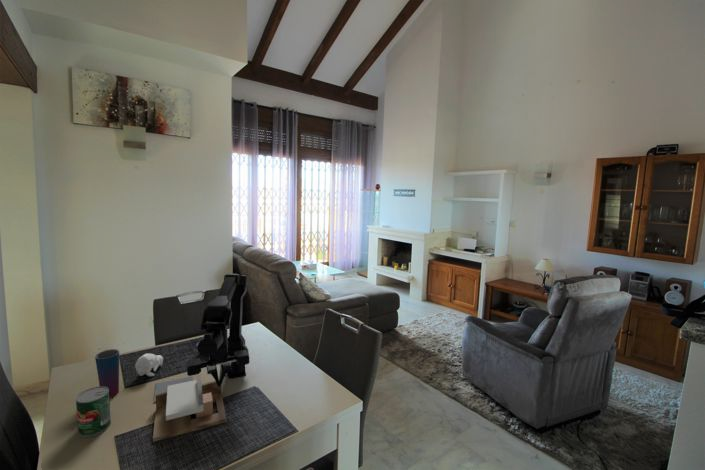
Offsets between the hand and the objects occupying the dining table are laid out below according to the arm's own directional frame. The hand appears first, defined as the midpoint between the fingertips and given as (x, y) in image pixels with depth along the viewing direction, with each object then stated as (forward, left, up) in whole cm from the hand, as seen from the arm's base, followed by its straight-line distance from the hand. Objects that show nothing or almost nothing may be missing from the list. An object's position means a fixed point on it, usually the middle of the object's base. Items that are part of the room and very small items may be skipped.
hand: (219, 385), depth 111 cm
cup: (+34, -24, -8) cm, 42 cm away
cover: (+10, 0, -2) cm, 11 cm away
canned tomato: (+35, -6, -8) cm, 36 cm away
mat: (+14, -18, -8) cm, 24 cm away
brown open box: (+9, 0, -8) cm, 12 cm away
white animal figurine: (+22, -35, -8) cm, 42 cm away
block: (+5, 0, -8) cm, 9 cm away
